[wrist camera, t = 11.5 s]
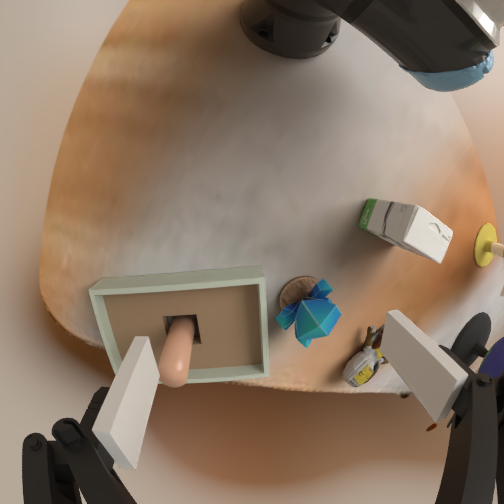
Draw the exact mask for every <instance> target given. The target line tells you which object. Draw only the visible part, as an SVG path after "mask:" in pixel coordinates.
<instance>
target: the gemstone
mask: <svg viewBox="0 0 504 504" xmlns="http://www.w3.org/2000/svg"><path fill="white" fill-rule="evenodd" d="M331 291H333V289H332V288H331V286H330V285H329V284H328V283H327V282H326V281H325V280H324V278H323V279H322V280H321V281H318V280H316V279H315V278H312V277H309V276H301V277H297V278H294V279H292V280H291V281H289V282H288V283H287V284H286V285H285V286H284V287H283V289H282V291H281V293H280V296H279V306H280V309H281V312H280V314H279V315H278V316H276V317H275V319H276V321H277V322H278V323H279V325H280V326H281V327H282V329H285V330H287V329H288V328H289V326H290V325H291V324H292V323H293V322H294V321H295V335H296V338H297V339H298V341H299V342H300V343H301V344H303V345H304V346H305V347H306V348H308V346H309V344H310V343H311V339H314V338H319V337H324V336H328V335H329V333H330V332H331V330H332V329H333V327H334V325H335V324H336V322H337V321H338V319H339V317H340V316H341V312H340V311H339V309H338V307H337V305H335V304H332V302H331V300H330V299H329V298H325V297H326V296H327V295H328V294H329V293H330V292H331Z"/></svg>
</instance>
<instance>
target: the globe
mask: <svg viewBox="0 0 504 504" xmlns="http://www.w3.org/2000/svg"><path fill="white" fill-rule="evenodd" d="M490 331H491V320H490V317H489V316H488V314H486V313H484V312H482V313H479V314H477V315H475V316H474V317H473V318H472V319H471V320H470V321H469V322H468V323H467V324H466V325H465V326H464V328H463V329H462V330H461V332H460V333H459V335H458V337H457V338H456V340H455V342H454V344H453V346H452V348H451V351H452V352H453V353H454V355H456V356H457V357H458V358H459V360H461V361H463V362H464V363H465V364H466V365H467V366H468V367H469V366H470V365H471V364H472V363H473V362H474V361H475V360H476V359H477V358H478V356H480V357H483V358H484V359H483V361H482V363H481V365H480V368H479V371H478V373H486V374H488V375H490V376H491V377H492V378H494V377H498V376H501V374H502V372H503V370H504V337H503V338H501V339H500V340H498V341H497V342H496V343H495V344H494V345H493V346H492V347H491V348H490V350H489V351H488V350H487V349H486V348H485V345H486V343H487V340H488V338H489V335H490Z"/></svg>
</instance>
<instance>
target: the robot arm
mask: <svg viewBox="0 0 504 504" xmlns="http://www.w3.org/2000/svg"><path fill="white" fill-rule="evenodd" d="M341 18H342V19H344V20H345V21H346V22H348V23H349V24H350V25H352V26H353V27H355V28H356V29H357V30H359V31H360V32H361V33H363V34H364V35H365V36H367V37H368V38H369V39H370V40H372V41H373V42H374V43H375V44H377V45H378V46H379V47H380V48H381V49H382V50H384V51H385V52H386V53H387V54H388V55H389V56H391V57H392V58H393V59H394V60H395V61H396V62H397V63H398V64H399V66H400V67H401V68H402V69H403V70H405V71H406V72H409V73H410V74H411V75H412V76H413V77H414V78H415V79H416V80H417V81H418V82H419V83H421V84H422V85H423V86H424V87H426V88H428V89H432V90H435V91H439V92H449V91H455V90H459V89H463V88H465V87H468V86H470V85H473V84H475V83H476V82H478V81H479V80H481V79H482V78H483V77H484V75H483V74H485V73H488V72H489V71H490V70H491V69H492V66H493V62H494V58H493V53H492V49H493V48H495V47H497V46H499V42H500V35H499V33H500V28H501V27H502V26H504V0H244V2H243V4H242V7H241V13H240V23H241V26H242V29H243V31H244V32H245V34H246V35H247V36H248V38H249V39H250V40H251V41H252V42H254V43H255V44H256V45H258V46H259V47H261V48H262V49H264V50H266V51H268V52H270V53H273V54H276V55H279V56H283V57H288V58H309V57H314V56H317V55H319V54H321V53H323V52H325V51H326V50H327V49H328V48H329V47H330V46H331V45H332V44H333V43H334V41H335V40H336V38H337V36H338V34H339V29H340V22H341ZM380 352H381V353H382V354H383V355H384V357H385V358H386V359H387V360H388V362H389V363H390V364H391V365H392V367H393V368H394V369H395V370H396V372H397V373H398V374H399V376H400V377H401V378H402V379H403V381H404V382H405V383H406V384H407V386H408V387H409V388H410V390H411V391H412V392H413V394H414V395H415V396H416V397H417V399H418V400H419V401H420V403H421V404H422V405H423V407H424V408H425V409H426V410H427V412H428V413H429V415H430V416H431V417H432V418H433V420H434V421H435V423H436V422H438V421H440V420H442V419H444V418H446V417H447V416H448V414H449V412H450V410H451V409H453V411H455V413H454V414H453V416H452V418H451V420H450V421H449V423H448V425H447V428H448V427H449V426H450V424H451V423H452V426H451V433H450V440H449V447H448V452H447V458H446V463H445V467H444V472H443V477H442V480H441V485H440V489H439V492H438V495H437V499H436V502H435V504H492V501H493V494H494V488H495V479H496V484H497V496H498V504H504V370H503V372H502V374H501V376H498V377H494V378H492V377H491V376H490V375H488V374H486V373H477V374H475V373H474V372H473V371H472V370H471V369H470V368H469V367H468V366H467V365H466V364H465V363H464V362H463V361H461V360H459V358H458V357H457V356H456V355H454V353H453V352H452V351H451V350H450V349H448V348H446V347H444V346H442V345H439V346H438V345H437V344H436V343H435V342H434V341H432V340H431V339H430V338H429V337H428V336H427V335H426V334H425V333H424V332H423V331H421V330H420V329H419V328H418V327H417V326H416V325H415V324H414V323H412V322H411V321H410V320H409V319H408V318H407V317H406V316H405V315H403V314H402V313H401V312H400V311H399V310H398V309H397V310H392V311H387V314H386V320H385V326H384V331H383V336H382V341H381V346H380ZM159 377H160V374H159V371H158V368H157V364H156V361H155V358H154V354H153V351H152V348H151V344H150V340H149V337H148V336H135V338H134V340H133V342H132V344H131V346H130V348H129V350H128V352H127V354H126V356H125V358H124V360H123V362H122V364H121V366H120V368H119V370H118V372H117V374H116V377H115V379H114V381H113V383H112V385H111V387H110V388H109V387H101V388H100V389H99V390H98V391H97V392H96V393H95V394H94V396H93V398H92V400H91V403H90V404H89V406H88V409H87V410H86V412H85V414H84V416H83V418H82V420H81V423H80V424H79V423H78V422H77V421H76V420H75V419H73V418H63V419H60V420H59V421H57V422H56V423H55V424H54V425H53V428H52V435H53V437H54V438H55V439H56V441H47V439H46V438H45V437H44V436H43V435H42V434H40V433H32V434H30V435H28V436H27V437H26V438H25V439H24V442H23V449H22V451H23V452H22V479H23V496H24V504H82V501H81V497H80V492H79V488H80V491H81V493H82V494H83V497H84V498H85V500H86V502H87V504H137V503H136V502H135V500H134V499H133V497H132V496H131V495H130V493H129V492H128V490H127V489H126V487H125V486H124V484H123V483H122V481H121V480H120V479H119V477H118V475H117V474H116V472H115V470H114V469H113V464H114V461H115V463H116V464H117V465H118V466H119V468H125V469H131V470H136V468H137V463H138V459H139V454H140V450H141V446H142V442H143V438H144V433H145V430H146V425H147V421H148V418H149V414H150V410H151V406H152V403H153V399H154V395H155V392H156V388H157V384H158V381H159ZM78 486H79V487H78Z"/></svg>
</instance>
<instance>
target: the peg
mask: <svg viewBox="0 0 504 504" xmlns="http://www.w3.org/2000/svg"><path fill="white" fill-rule="evenodd" d="M195 325H196V321H195V319H194V317H193V316H192V315H177V316H174V317H173V320H172V323H171V326H170V329H169V332H168V335H167V338H166V341H165V344H164V348H163V351H162V354H161V357H160V361H159V364H158V367H157V368H158V371H159V374H160V377H159V381H160V382H161V383H163V384H164V385H166V386H169V387H180V386H182V385H184V384H185V383H186V382H187V378H188V371H189V364H190V357H191V351H192V344H193V338H194V331H195Z"/></svg>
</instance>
